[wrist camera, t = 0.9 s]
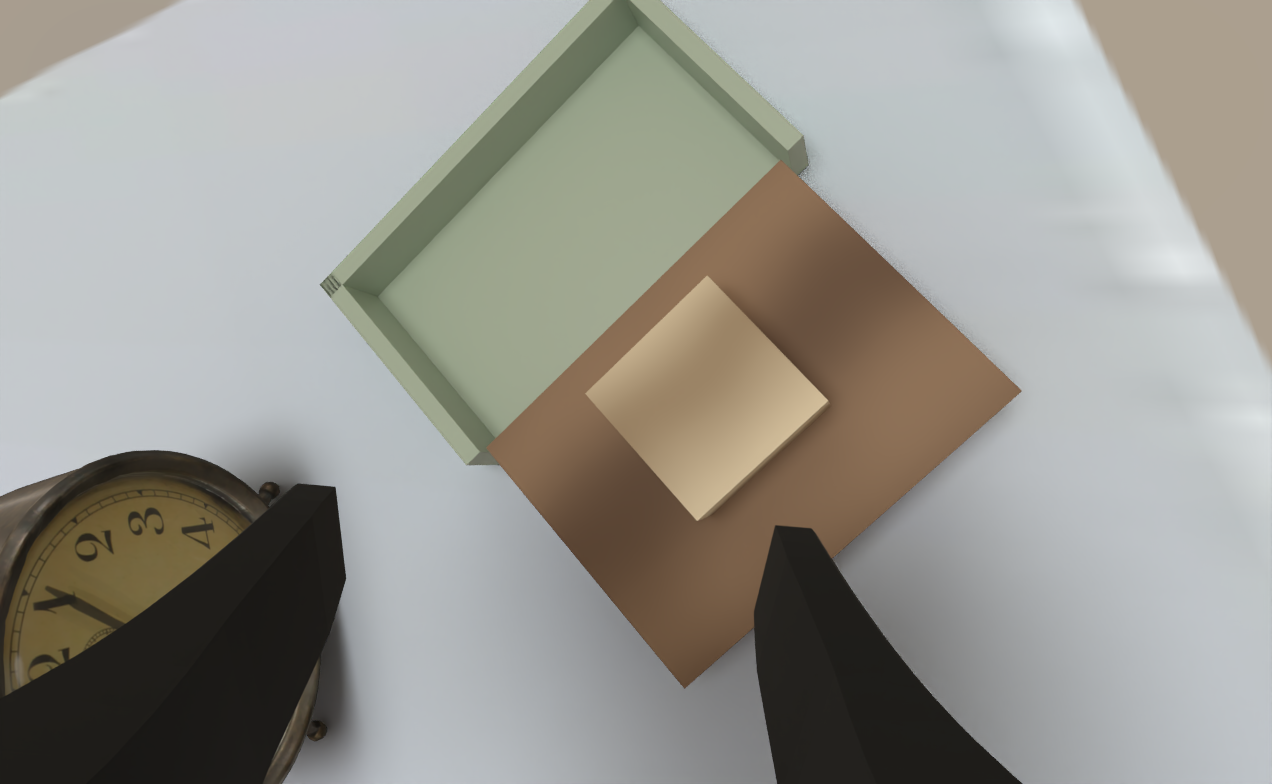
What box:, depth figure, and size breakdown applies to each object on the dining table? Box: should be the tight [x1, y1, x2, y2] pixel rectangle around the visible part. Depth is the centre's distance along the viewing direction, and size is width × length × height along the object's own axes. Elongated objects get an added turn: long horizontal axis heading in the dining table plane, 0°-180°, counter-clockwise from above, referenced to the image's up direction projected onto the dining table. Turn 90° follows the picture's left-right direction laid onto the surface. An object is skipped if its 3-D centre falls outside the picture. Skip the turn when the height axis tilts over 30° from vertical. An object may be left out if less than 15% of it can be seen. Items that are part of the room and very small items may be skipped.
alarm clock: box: [0, 450, 327, 784], centre depth 23 cm, size 11×5×16 cm, turn 14°
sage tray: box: [320, 0, 809, 465], centre depth 27 cm, size 8×14×2 cm, turn 132°
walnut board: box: [486, 160, 1021, 689], centre depth 25 cm, size 9×12×3 cm
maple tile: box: [585, 276, 831, 521], centre depth 23 cm, size 4×4×2 cm
